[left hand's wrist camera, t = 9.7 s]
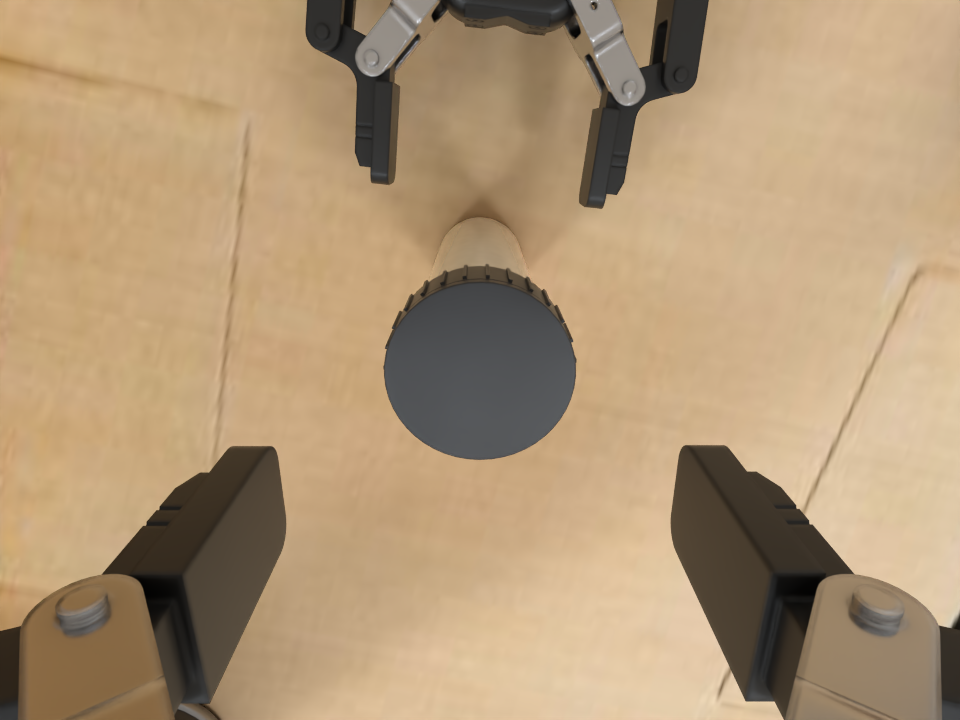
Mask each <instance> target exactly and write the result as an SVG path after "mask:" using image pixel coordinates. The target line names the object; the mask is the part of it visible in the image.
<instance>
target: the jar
mask: <svg viewBox="0 0 960 720" xmlns="http://www.w3.org/2000/svg"><path fill="white" fill-rule="evenodd" d="M485 264H489V267H496V268H501V269H505V270H506V269H507V268H510V270H511V272H514V273H516V274H518V275H520V276H522V277H524V278H526V277H529V278H530V280H531V277H530V274H529V271H528V268H527V265H526V262H525V260H524V257H523V254H522V251H521V248H520V245H519V243H518V241H517V239H516V237H515V235H514V234H513V233H512V232H511V230H510V229H509V228H507V227H506V226H505V225H504V224H502V223H500V222H498V221H496V220H493V219H490V218H484V217H475V218H470V219H467V220H464V221H462V222H460V223H458V224H456V225H455V226H454V227H453V228H451V229H450V230H449V232H448V233H447V234H446V235H445V237H444V238H443V241H442V243H441V245H440V248H439V251H438V254H437V257H436V260H435V262H434V265H433V268H432V271H431V274H430V277H429V280H428V282H429V281H431V280H432V279H434V278H436V277H438V276H440V275H442V273H443V271H445V270H447V272H449V271H452V270H455V269H459V268H463V267H464V265H467V266H468V267H470V266H485ZM531 282H532V280H531Z"/></svg>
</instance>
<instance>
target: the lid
mask: <svg viewBox="0 0 960 720" xmlns="http://www.w3.org/2000/svg"><path fill="white" fill-rule="evenodd" d="M564 322H565V321H564V319H563V317H562V314H561V312H560V310H559V308H558V306H557V305H556V306H554V305H553V303H552V302H551V300H550V299H549V297H548V295H547V292H546V291H545V290H544V289H543V290H541V289H540V288H538V287H537V286H536V285H535V284H534V283H532V282H531V280H530V278H529V277H526V278H524V277H522V276H520V275H518V274H516V273H514V272H511V270H510V268H507V269H506V270H505V269H501V268H496V267H489V264H485V266H470V267H468V266H467V265H464V267H463V268H459V269H455V270H452V271H449V272H447V270H445V271H443V273H442V275H440V276H438V277H436V278H434V279H432V280H431V281H429V282H428V280H426V281H425V282H424V285H423V287H422V288H420V289H419V290H418V291H417V292H416V293H415V294H414V295H412V294H411V295H410V296H409V298H408V301H407V303H406V305H405V308H404V309H403V311H399V313H398V315H397V318H396V320H395V322H394V324H393V327H392V329H394V330H392V332H391V335H390V337H389V339H388V341H387V344H386V347H385V349H387V351H386V356H385V362H384V378H385V386H386V390H387V394H388V397H389V400H390V402H391V405H392V407H393V409H394V411H395V412H396V414H397V416H398V417H399V419H400V420H401V421H402V423H403V424H404V425H405V427H406V428H407V429H408V430H409V431H410V432H411V433H412V434H413V435H414V436H416V437H417V438H418V439H419V440H421V441H422V442H423V443H425V444H427V445H428V446H430V447H432V448H433V449H436V450H438V451H440V452H442V453H445V454H448V455H451V456H455V457H459V458H465V459H475V460H484V459H495V458H501V457H505V456H509V455H512V454H515V453H518V452H520V451H522V450H525V449H526V448H528V447H530V446H532V445H533V444H535V443H537V442H538V441H539V440H541V439H542V438H543V437H545V436H546V435H547V434H548V433H549V432H550V431H551V430H552V429H553V428H554V427H555V425H556V424H557V423H558V422H559V420H560V419H561V417H562V416H563V414H564V412H565V411H566V409H567V407H568V405H569V402H570V400H571V397H572V394H573V390H574V385H575V378H576V358H575V355H574V351H573V348H572V344H571V342H573V339H572V337H571V334H570V332H569V330H568V328H567V325H566V323H564ZM563 323H564V324H563Z"/></svg>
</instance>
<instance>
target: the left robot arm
mask: <svg viewBox="0 0 960 720" xmlns="http://www.w3.org/2000/svg"><path fill="white" fill-rule="evenodd" d="M285 534H286V514H285V506H284V499H283V491H282V484H281V476H280V469H279V461H278V456H277V452H276V450H275V448H274V447H272V446H232V447H230V448H229V449H228V450H227V451H226V452H225V453H224V455H223V456H222V457H221V458H220V460H219V461H218V462H217V463H216V465H215V466H214V467H213V468H212V470H211V471H210V472H209V473H199V474H197V475H196V476H194V477H192V478H191V479H189V480H188V481H186V482H185V483H183V484H181V485H180V486H178V487H177V488H175V489H174V490H173V492H172V493H171V494H170V495H169V496H168V497H167V499H166V500H165V501H164V502H163V503H162V505H161V506H160V509H159V510H156V512H155V513H154V514H153V515H152V516H151V517H150V519H149V520H148V521H147V525H146V526H143V527H142V528H141V529H140V530H139V531H138V533H137V534H136V535H135V536H134V537H133V538H132V540H131V541H130V542H129V543H128V544H127V546H126V547H125V548H124V549H123V550H122V551H121V553H120V554H119V555H118V556H117V557H116V558H115V560H114V561H113V562H112V563H111V564H110V565H109V567H108V568H107V569H106V570H105V571H104V572H103V574H102V575H98V576H93V577H89V578H86V579H82V580H79V581H77V582H74V583H71V584H69V585H67V586H65V587H63V588H61V589H59V590H57V591H56V592H54V593H52V594H51V595H49V596H48V597H46V598H45V599H43V600H42V601H41V602H40V603H39V604H37V605H36V606H35V607H34V608H33V609H32V610H31V611H30V612H29V614H28V615H27V616H26V618H25V619H24V621H23V623H22V626H20V627H16V628H12V629H7V630H3V631H0V720H218V719H217V718H216V717H215V716H214V715H213V714H212V713H211V712H210V711H209V710H207V709H206V708H205V707H203V706H201V705H200V704H210V702H211V700H212V697H213V695H214V693H215V691H216V689H217V687H218V685H219V683H220V681H221V678H222V676H223V674H224V672H225V670H226V668H227V666H228V664H229V661H230V659H231V657H232V655H233V653H234V651H235V649H236V647H237V645H238V642H239V640H240V638H241V636H242V634H243V632H244V630H245V628H246V626H247V623H248V621H249V619H250V617H251V615H252V613H253V611H254V609H255V606H256V604H257V602H258V600H259V598H260V596H261V594H262V592H263V590H264V587H265V585H266V583H267V581H268V579H269V577H270V575H271V573H272V571H273V568H274V566H275V564H276V562H277V560H278V558H279V556H280V554H281V551H282V548H283V545H284V541H285ZM671 534H672V540H673V544H674V548H675V550H676V553H677V555H678V557H679V559H680V561H681V564H682V566H683V568H684V570H685V572H686V574H687V576H688V579H689V581H690V583H691V585H692V587H693V589H694V591H695V594H696V596H697V598H698V600H699V602H700V604H701V606H702V609H703V611H704V613H705V615H706V617H707V619H708V621H709V624H710V626H711V628H712V630H713V632H714V634H715V636H716V639H717V641H718V643H719V645H720V647H721V649H722V651H723V654H724V656H725V658H726V660H727V662H728V664H729V666H730V669H731V671H732V673H733V675H734V677H735V679H736V681H737V684H738V686H739V688H740V690H741V692H742V694H743V696H744V699H745V701H775V703H776V705H777V707H778V709H779V711H780V713H781V715H782V717H783V719H784V720H960V630H956V629H952V628H947V627H943V626H939V625H938V623H937V621H936V619H935V618H934V616H933V615H932V614H931V612H930V611H929V610H928V609H927V608H926V607H925V606H924V605H923V604H921V603H920V602H919V601H918V600H917V599H915V598H914V597H912V596H911V595H909V594H908V593H906V592H904V591H903V590H901V589H899V588H897V587H895V586H893V585H891V584H889V583H886V582H883V581H881V580H878V579H874V578H871V577H867V576H862V575H855V574H854V573H853V572H852V571H851V570H850V568H849V567H848V566H847V565H846V564H845V563H844V561H843V560H842V559H841V558H840V557H839V555H838V554H837V553H836V552H835V551H834V550H833V548H832V547H831V546H830V545H829V544H828V542H827V541H826V540H825V539H824V538H823V537H822V535H821V534H820V533H819V532H818V531H817V529H816V528H815V527H814V526H813V525H810V524H809V520H808V519H807V518H806V516H805V515H804V514H803V513H802V512H801V511H800V509H796V505H795V503H794V502H793V501H792V500H791V499H790V497H789V496H788V495H787V494H786V493H785V492H784V490H783V489H782V488H781V487H780V486H778V485H777V484H775V483H773V482H772V481H770V480H769V479H767V478H765V477H764V476H762V475H761V474H759V473H758V472H747V471H746V470H745V468H744V467H743V466H742V465H741V463H740V462H739V461H738V460H737V458H736V457H735V456H734V454H733V453H732V452H731V451H730V449H729V448H728V447H727V446H724V445H685V446H683V447H682V449H681V451H680V454H679V459H678V466H677V474H676V482H675V489H674V497H673V504H672V512H671Z"/></svg>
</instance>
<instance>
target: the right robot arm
mask: <svg viewBox="0 0 960 720" xmlns="http://www.w3.org/2000/svg"><path fill="white" fill-rule="evenodd" d="M708 1H709V0H657V8H656V16H655V24H654V32H653V39H652V47H651V55H650V63H649V66H646V67H642V68H639V67H638V65H637V63H636V61H635V59H634V56H633V54H632V52H631V50H630V48H629V46H628V44H627V41H626V39H625V37H624V33H623V25H622V22H621V20H620V17H619V15H618V13H617V11H616V9H615V7H614V4H613V2H612V0H391V3H390V5H389V7H388V9H387V10H386V12H385V13H384V14H383V15H382V17H381V18H380V19H379V21H378V22H377V23H376V24H375V26H374V27H373V28H372V30H371V31H370V32H369V33H368V35H367V36H365V35H363V34H361V33H359V32H358V31H356V30H354V19H355V7H356V0H307V14H306V37H307V39H308V41H309V43H310V44H311V45H312V46H313V47H314V48H315V49H317V50H319V51H321V52H323V53H325V54H327V55H329V56H330V57H332V58H334V59H336V60H338V61H340V62H342V63H344V64H345V65H347V66H348V67H349V68H350V69H351V70H352V72H353V73H354V75H355V78H356V82H357V102H356V137H355V154H356V156H357V159H358V162H359V165H360V166H365V167H371V182H372V183H377V184H386V185H390V184H392V183H393V182H394V179H395V171H396V153H397V134H398V115H399V97H400V86H398V85H397V84H395V83H394V81H395V74H396V73H397V71H398V70H399V69H400V68H401V67H402V65H403V64H404V63H405V62H406V60H407V59H408V58H409V57H410V55H411V54H412V53H413V52H414V50H415V49H416V48H417V47H418V46H419V44H420V43H421V42H423V41H424V40H425V39H426V38H427V37H428V36H429V35H430V34H431V33H432V31H433V30H434V29H435V28H436V26H437V25H438V24H439V23H440V21H441V20H442V19H443V18H444V17H445V15H446V14H447V13H448V12H449V13H450V14H451V15H452V16H454V17H455V18H456V19H458V20H459V21H461V22H463V23H465V26H467V27H475V28H484V29H485V28H491V27H496V26H502V25H507V26H509V27H511V28H514V29H516V30H518V31H521V32H523V33H526V34H534V35H543V36H544V35H545V34H546V33H547V32H551V31H554V30H556V29H558V28H560V27H562V26H563V28H564V30H565V32H566V34H567V36H568V38H569V40H570V42H571V44H572V46H573V48H574V50H575V52H576V54H577V55H578V57H579V58H580V59H581V60H582V61H583V63H584V65H585V67H586V69H587V71H588V73H589V75H590V77H591V79H592V81H593V83H594V85H595V87H596V89H597V91H598V93H599V95H600V97H601V99H600V105H599V108H597V109H593V110H592V117H591V123H590V129H589V136H588V142H587V148H586V155H585V161H584V168H583V174H582V180H581V187H580V194H579V203H580V204H581V205H583V206H584V207H591V208H600V209H602V208H603V206H604V203H605V199H606V194H613V195H617V194H618V192H619V190H620V188H621V187H622V185H623V183H624V180H625V174H626V169H627V168H626V167H627V163H628V156H629V152H630V146H631V141H632V135H633V130H634V124H635V119H636V116H637V113H638V111H639V110H640V108H641V107H642V106H643V105H644V104H646V103H647V102H649V101H651V100H655V99H658V98H662V97H666V96H670V95H674V94H679V93H684V92H686V91H688V90H689V89H690V88H691V87H692V86H693V85H694V83H695V81H696V78H697V73H698V66H699V60H700V53H701V47H702V40H703V34H704V27H705V21H706V14H707V8H708ZM592 5H594V7H595V10H593V8H592Z"/></svg>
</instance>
